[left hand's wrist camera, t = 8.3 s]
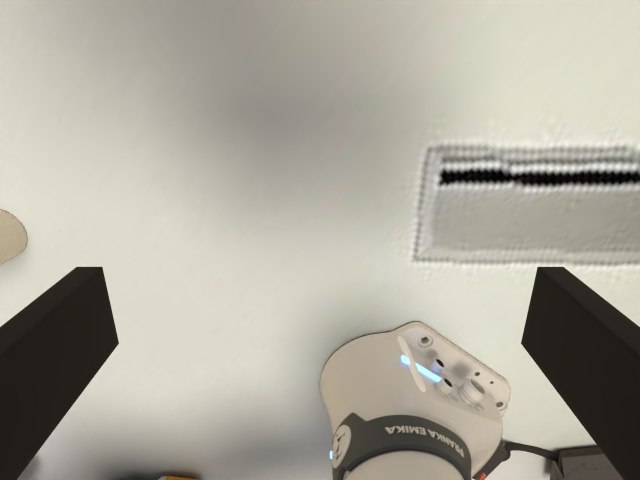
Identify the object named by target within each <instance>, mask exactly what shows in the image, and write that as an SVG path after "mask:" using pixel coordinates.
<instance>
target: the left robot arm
mask: <svg viewBox="0 0 640 480" xmlns="http://www.w3.org/2000/svg"><path fill="white" fill-rule="evenodd" d="M118 344H119V342H118V337H117V333H116V328H115V323H114V319H113V314H112V310H111V305H110V300H109V296H108V291H107V287H106V282H105V277H104V273H103V268H102V267H76V268H75V269H74V270H72V271H71V272H70V273H68V274H67V275H66V276H65V277H63V278H62V279H61V280H60V281H58V282H57V283H56V284H55V285H53V286H52V287H51V288H49V289H48V290H47V291H46V292H44V293H43V294H42V295H41V296H39V297H38V298H37V299H36V300H34V301H33V302H32V303H30V304H29V305H28V306H27V307H25V308H24V309H23V310H22V311H20V312H19V313H18V314H16V315H15V316H14V317H13V318H11V319H10V320H9V321H8V322H6V323H5V324H4V325H3V326H1V327H0V480H17V478H18V477H19V476H20V474H21V473H22V472H23V470H24V469H25V468H26V466H27V465H28V464H29V462H30V461H31V460H32V458H33V457H34V456H35V454H36V453H37V452H38V450H39V449H40V448H41V446H42V445H43V444H44V442H45V441H46V440H47V438H48V437H49V436H50V434H51V433H52V432H53V430H54V429H55V428H56V426H57V425H58V424H59V422H60V421H61V420H62V418H63V417H64V416H65V414H66V413H67V412H68V410H69V409H70V408H71V406H72V405H73V404H74V402H75V401H76V400H77V398H78V397H79V396H80V394H81V393H82V392H83V390H84V389H85V388H86V386H87V385H88V384H89V382H90V381H91V380H92V378H93V377H94V376H95V374H96V373H97V372H98V370H99V369H100V368H101V366H102V365H103V364H104V362H105V361H106V360H107V358H108V357H109V356H110V354H111V353H112V352H113V350H114V349H115V348H116V346H117V345H118ZM521 344H522V345H523V346H524V348H525V349H526V350H527V352H528V353H529V354H530V356H531V357H532V358H533V360H534V361H535V362H536V364H537V365H538V366H539V368H540V369H541V370H542V372H543V373H544V374H545V376H546V377H547V378H548V380H549V381H550V382H551V384H552V385H553V386H554V388H555V389H556V390H557V392H558V393H559V394H560V396H561V397H562V398H563V400H564V401H565V402H566V404H567V405H568V406H569V408H570V409H571V410H572V412H573V413H574V414H575V416H576V417H577V418H578V420H579V421H580V422H581V424H582V425H583V426H584V428H585V429H586V430H587V432H588V433H589V434H590V436H591V437H592V438H593V440H594V441H595V442H596V444H597V445H598V446H599V448H600V449H601V450H602V452H603V453H604V454H605V456H606V457H607V458H608V460H609V461H610V462H611V464H612V465H613V466H614V468H615V469H616V470H617V472H618V473H619V474H620V476H621V477H622V478H623V480H640V327H639V326H637V325H636V324H635V323H634V322H632V321H631V320H630V319H629V318H627V317H626V316H625V315H624V314H622V313H621V312H620V311H618V310H617V309H616V308H615V307H613V306H612V305H611V304H610V303H608V302H607V301H606V300H604V299H603V298H602V297H601V296H599V295H598V294H597V293H596V292H594V291H593V290H592V289H591V288H589V287H588V286H587V285H585V284H584V283H583V282H582V281H580V280H579V279H578V278H577V277H575V276H574V275H573V274H572V273H570V272H569V271H568V270H566V269H565V268H564V267H538V268H537V273H536V277H535V282H534V287H533V291H532V296H531V300H530V305H529V310H528V314H527V319H526V323H525V328H524V333H523V337H522V342H521Z"/></svg>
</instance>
